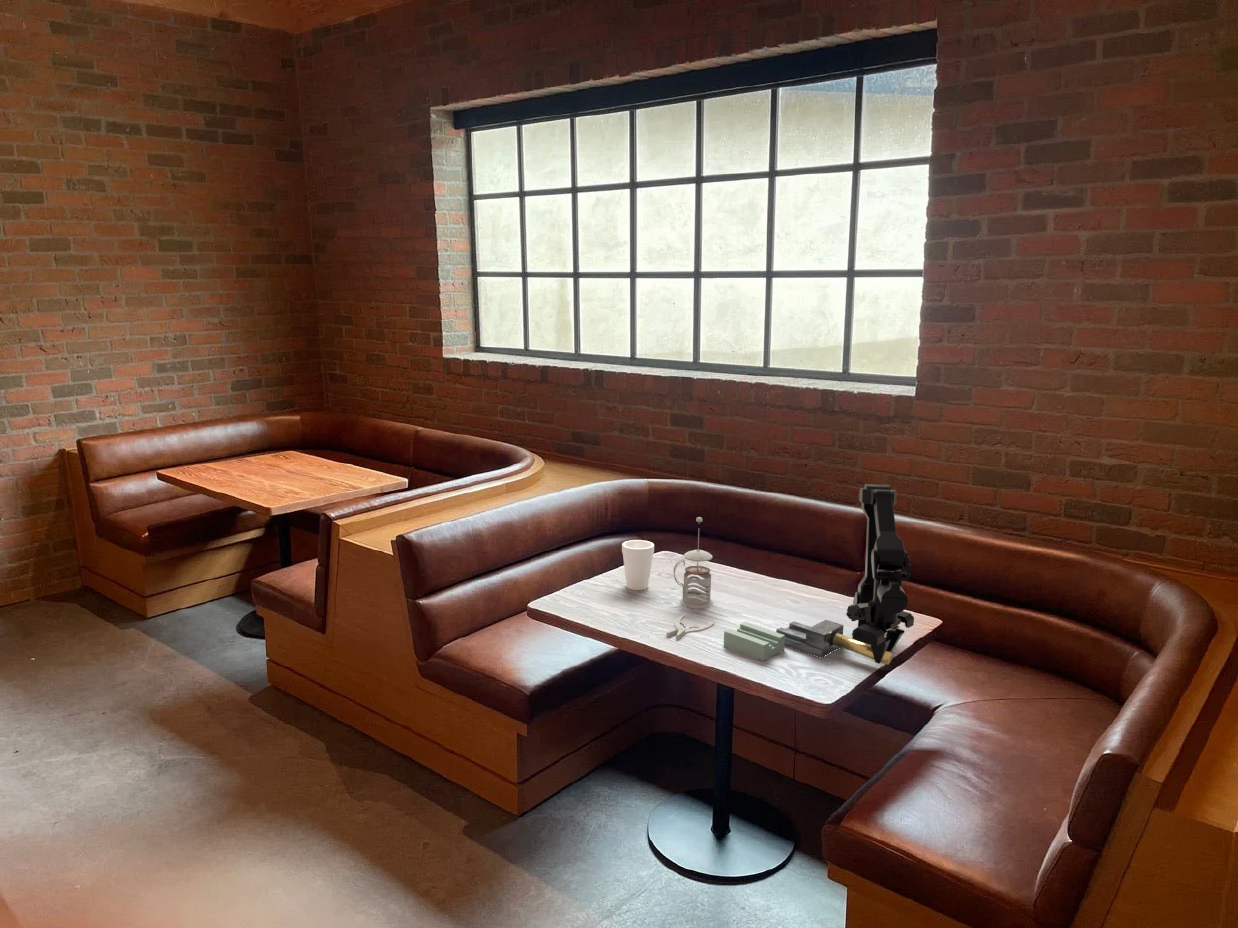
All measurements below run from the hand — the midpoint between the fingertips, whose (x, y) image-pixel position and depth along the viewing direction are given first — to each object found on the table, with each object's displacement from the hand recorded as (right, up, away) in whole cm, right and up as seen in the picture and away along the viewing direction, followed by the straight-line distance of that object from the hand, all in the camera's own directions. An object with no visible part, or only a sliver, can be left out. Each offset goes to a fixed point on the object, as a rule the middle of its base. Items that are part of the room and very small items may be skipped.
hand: (881, 660), depth 205 cm
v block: (-28, +1, +11) cm, 30 cm away
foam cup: (-56, +10, +54) cm, 79 cm away
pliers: (-44, +3, +23) cm, 50 cm away
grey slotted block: (-14, +1, +14) cm, 20 cm away
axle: (-4, +2, +3) cm, 5 cm away
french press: (-41, +7, +42) cm, 59 cm away
